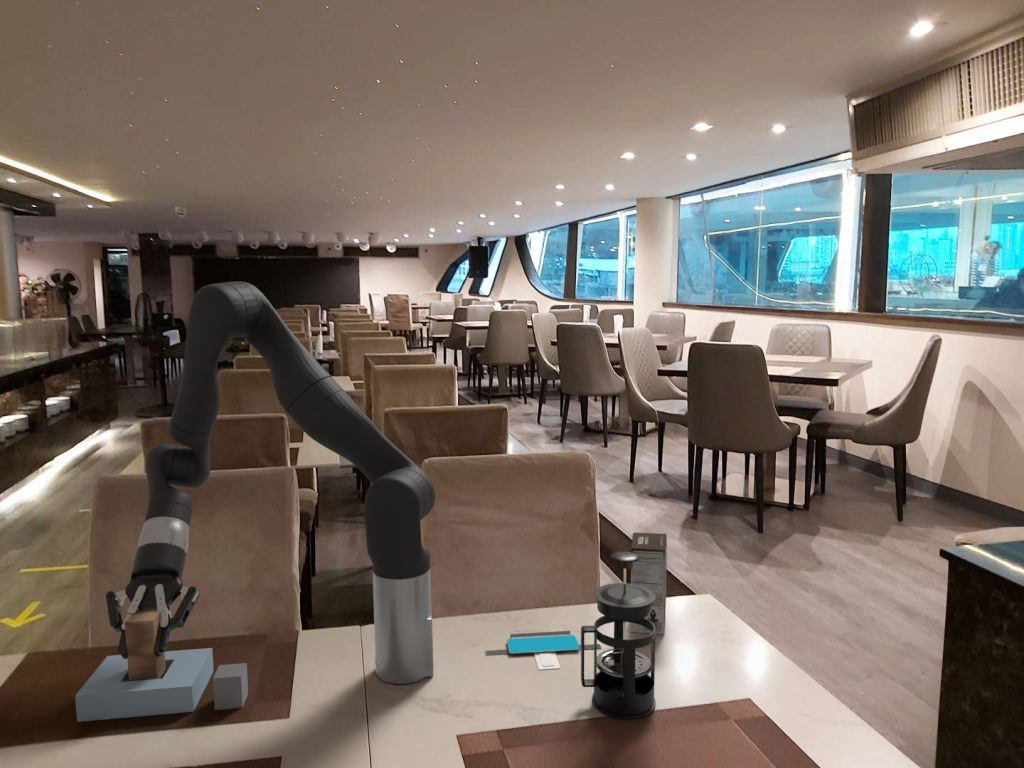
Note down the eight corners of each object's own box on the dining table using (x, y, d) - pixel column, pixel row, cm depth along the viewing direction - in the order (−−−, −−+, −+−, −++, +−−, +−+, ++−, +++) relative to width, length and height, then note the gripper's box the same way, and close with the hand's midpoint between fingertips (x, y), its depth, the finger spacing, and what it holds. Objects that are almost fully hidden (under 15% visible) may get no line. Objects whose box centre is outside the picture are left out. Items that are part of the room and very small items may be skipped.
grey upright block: (248, 693, 114) (246, 663, 113) (242, 707, 110) (241, 676, 109) (221, 695, 113) (219, 665, 112) (214, 710, 109) (212, 678, 108)
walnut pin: (165, 669, 115) (161, 609, 114) (157, 683, 111) (153, 620, 110) (138, 671, 115) (134, 610, 113) (129, 685, 111) (124, 622, 110)
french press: (653, 685, 115) (655, 543, 112) (666, 719, 105) (668, 565, 103) (578, 686, 115) (578, 544, 112) (584, 720, 105) (585, 566, 103)
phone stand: (488, 676, 119) (488, 667, 119) (483, 642, 131) (483, 633, 131) (609, 669, 121) (609, 659, 121) (594, 636, 133) (594, 627, 133)
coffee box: (631, 611, 142) (632, 531, 140) (665, 614, 140) (666, 533, 139) (629, 632, 133) (630, 547, 131) (665, 635, 131) (667, 549, 130)
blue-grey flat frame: (213, 671, 120) (212, 647, 120) (193, 711, 109) (191, 686, 108) (109, 679, 118) (107, 655, 118) (77, 721, 106) (75, 695, 106)
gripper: (108, 543, 117) (81, 651, 106) (202, 538, 119) (185, 644, 109) (123, 563, 123) (99, 667, 112) (212, 558, 125) (196, 660, 114)
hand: (141, 655), depth 111 cm, fingers closed on walnut pin, 4 cm apart
